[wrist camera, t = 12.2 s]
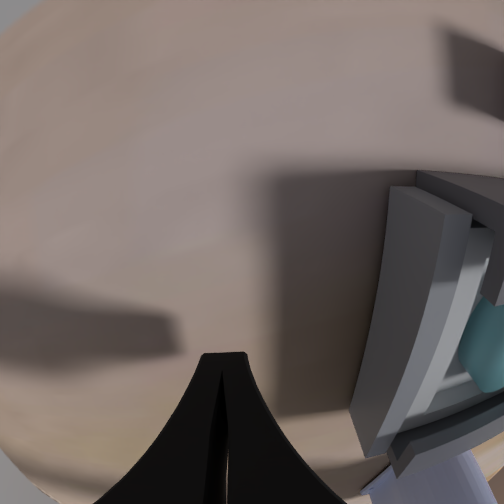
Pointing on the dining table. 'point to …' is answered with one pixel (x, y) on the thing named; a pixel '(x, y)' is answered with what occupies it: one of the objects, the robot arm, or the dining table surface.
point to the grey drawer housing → (497, 293)
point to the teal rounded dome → (484, 346)
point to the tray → (420, 319)
